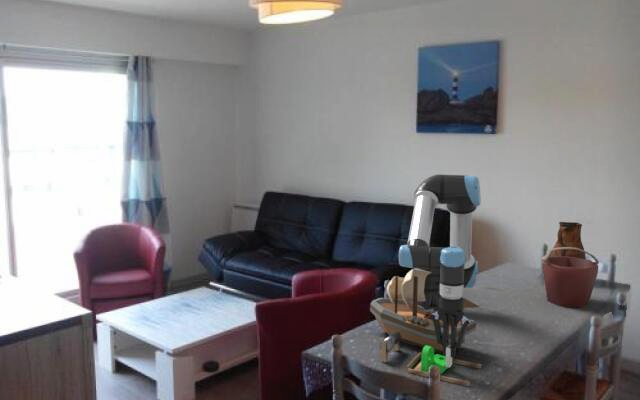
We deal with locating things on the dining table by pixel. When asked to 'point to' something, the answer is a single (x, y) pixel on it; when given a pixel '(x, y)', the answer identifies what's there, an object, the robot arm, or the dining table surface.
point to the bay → (418, 371)
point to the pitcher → (569, 240)
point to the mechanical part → (432, 359)
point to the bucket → (569, 278)
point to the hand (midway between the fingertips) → (448, 365)
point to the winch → (390, 345)
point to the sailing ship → (412, 312)
